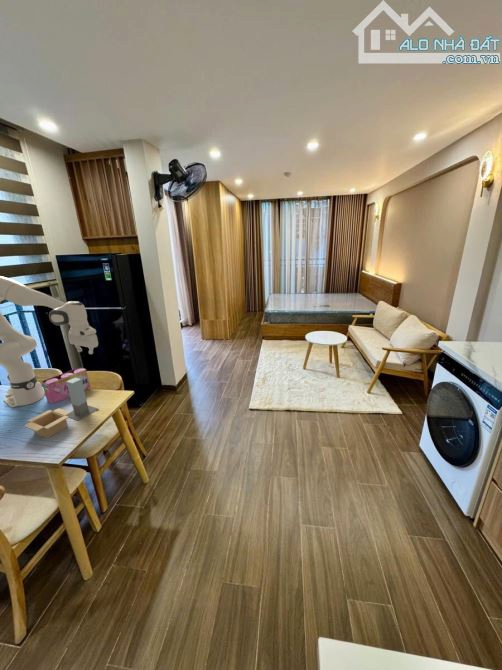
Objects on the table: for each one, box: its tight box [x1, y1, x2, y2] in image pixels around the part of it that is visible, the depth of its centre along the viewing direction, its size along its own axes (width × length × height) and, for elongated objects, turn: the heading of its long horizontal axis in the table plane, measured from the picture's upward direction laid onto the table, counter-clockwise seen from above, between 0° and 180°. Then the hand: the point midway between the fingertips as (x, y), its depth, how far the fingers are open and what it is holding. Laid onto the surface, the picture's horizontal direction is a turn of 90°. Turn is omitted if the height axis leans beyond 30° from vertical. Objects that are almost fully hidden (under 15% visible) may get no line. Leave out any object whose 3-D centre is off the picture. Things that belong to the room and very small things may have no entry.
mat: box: [66, 404, 100, 422], centre depth 145 cm, size 12×12×1 cm
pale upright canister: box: [66, 378, 89, 415], centre depth 142 cm, size 5×5×20 cm
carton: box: [23, 407, 71, 439], centre depth 130 cm, size 16×16×7 cm
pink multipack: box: [41, 366, 91, 405], centre depth 163 cm, size 24×8×14 cm, turn 151°
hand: (85, 352), depth 149 cm, fingers open, 8 cm apart
